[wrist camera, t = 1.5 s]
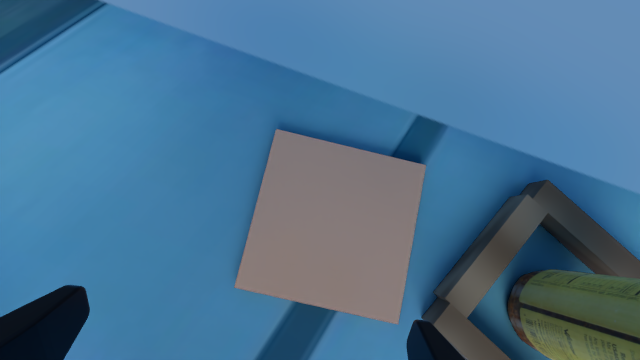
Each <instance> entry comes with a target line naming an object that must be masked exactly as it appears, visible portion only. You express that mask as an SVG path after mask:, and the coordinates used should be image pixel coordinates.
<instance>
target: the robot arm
mask: <svg viewBox="0 0 640 360" xmlns="http://www.w3.org/2000/svg"><path fill="white" fill-rule="evenodd" d="M89 311H90V308H89V303H88V298H87V294H86V290H85V288H84V287H82V286H75V285H66V286H63V287H61V288H59V289H57V290H55V291H53V292H51V293H49V294H47V295H45V296H43V297H41V298H38V299H36V300H34V301H32V302H30V303H28V304H26V305H24V306H22V307H20V308H18V309H16V310H14V311H12V312H10V313H8V314H6V315H4V316H2V317H0V360H64V358H65V356H66V354H67V353H68V351H69V349H70V348H71V346H72V344H73V342H74V341H75V339H76V337H77V335H78V334H79V332H80V330H81V329H82V327H83V325H84V323H85V322H86V320H87V318H88V316H89ZM407 354H408V360H465V358H464V357H463V356H462V355H461V354H460V353H459V352H458V351H457V350H456V349H455V348H454V347H453V346H452V344H451V343H450V342H449V341H448V340H447V339H446V338H445V337H444V336H443V335H442V334H441V333H440V332H439V331H438V329H437V328H436V327H435V326H434V325H433V324H432V323H431V322H429V321H426V320H415V321H414V322H413V324H412V327H411V330H410V333H409V336H408V339H407Z"/></svg>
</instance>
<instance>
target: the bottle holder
mask: <svg viewBox="0 0 640 360" xmlns="http://www.w3.org/2000/svg"><path fill="white" fill-rule="evenodd" d="M539 224H541V225H542V226H543V227H544V228H545V229H546V230H547V231H548V232H549V233H551V234H552V235H553V236H554V237H555V238H556V239H557V240H558V241H560V242H561V243H562V244H563V245H564V246H565V247H566V248H567V249H568V250H570V251H571V252H572V253H573V254H574V255H575V256H576V257H577V258H579V259H580V260H581V261H582V262H583V263H584V264H585V265H586V266H587V267H589V268H590V269H591V270H592V271H593V272H594V273H595V274H600V275H609V276H618V277H627V278H636V279H640V261H639V260H638V259H637V258H636V257H635V256H634V255H632V254H631V253H630V252H629V251H628V250H627V249H626V248H625V247H623V246H622V245H621V244H620V243H619V242H618V241H617V240H615V239H614V238H613V237H612V236H611V235H610V234H609V233H608V232H606V231H605V230H604V229H603V228H602V227H601V226H600V225H599V224H597V223H596V222H595V221H594V220H593V219H592V218H591V217H589V216H588V215H587V214H586V213H585V212H584V211H583V210H582V209H580V208H579V207H578V206H577V205H576V204H575V203H574V202H573V201H571V200H570V199H569V198H568V197H567V196H566V195H565V194H563V193H562V192H561V191H560V190H559V189H558V188H557V187H556V186H554V185H553V184H552V183H551V182H550V181H549V180H544V181H539V182H534V183H529V184H528V185H527V186H526V188H525V189H524V190H523V191H522V193H521V194H520V195H519V196H513V197H509V199H508V200H507V201H506V202H505V204H504V205H503V206H502V207H501V209H500V210H499V211H498V212H497V214H496V215H495V216H494V217H493V218H492V220H491V221H490V222H489V223H488V225H487V226H486V227H485V228H484V230H483V231H482V232H481V233H480V235H479V236H478V237H477V238H476V240H475V241H474V242H473V243H472V245H471V246H470V247H469V248H468V250H467V251H466V252H465V253H464V254H463V256H462V257H461V258H460V259H459V261H458V262H457V263H456V264H455V266H454V267H453V268H452V269H451V271H450V272H449V273H448V274H447V276H446V277H445V278H444V279H443V281H442V282H441V283H440V284H439V286H438V287H437V288H436V289H435V290H434V292H433V293H434V294H435V295H436V296H437V297H438V298H437V299H436V300H435V301H434V303H433V304H432V305H431V306H430V308H429V309H428V310H427V311H426V313H425V314H424V315H423V316H422V319H423V320H426V321H429V322H431V323H432V324H433V325H434V326H435V327H436V328H437V329H438V331H439V332H440V333H441V334H442V335H443V336H444V337H445V338H446V339H447V340H448V341H449V342H450V343H451V344H452V346H453V347H454V348H455V349H456V350H457V351H458V352H459V353H460V354H461V355H462V356H463V357H464V358H465V359H466V360H511V359H510V358H509V357H508V356H507V355H506V354H505V353H503V352H502V351H501V350H500V349H499V348H498V347H497V346H496V345H495V344H494V343H493V342H492V341H491V340H489V339H488V338H487V337H486V336H485V335H484V334H483V333H482V332H481V331H480V330H479V329H478V328H477V327H476V326H474V325H473V324H472V323H471V322H470V321H469V320H468V319H467V317H468V316H469V315H470V314H471V312H472V311H473V310H474V308H475V307H476V306H477V304H478V303H479V302H480V301H481V299H482V298H483V297H484V295H485V294H486V293H487V291H488V290H489V289H490V288H491V286H492V285H493V284H494V282H495V281H496V280H497V278H498V277H499V276H500V275H501V273H502V272H503V271H504V269H505V268H506V267H507V266H508V264H509V263H510V262H511V260H512V259H513V258H514V256H515V255H516V254H517V253H518V251H519V250H520V249H521V247H522V246H523V245H524V243H525V242H526V241H527V240H528V238H529V237H530V236H531V234H532V233H533V232H534V230H535V229H536V228H537V227H538V225H539Z"/></svg>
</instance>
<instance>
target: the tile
mask: <svg viewBox="0 0 640 360" xmlns="http://www.w3.org/2000/svg"><path fill="white" fill-rule="evenodd" d="M425 169H426V165H423V164H419V163H415V162H411V161H406V160H402V159H398V158H394V157H390V156H386V155H382V154H378V153H373V152H369V151H365V150H361V149H357V148H353V147H349V146H345V145H340V144H336V143H332V142H328V141H324V140H320V139H316V138H312V137H307V136H303V135H299V134H295V133H291V132H287V131H283V130H279V129H276V131H275V135H274V139H273V143H272V146H271V150H270V154H269V158H268V162H267V165H266V169H265V173H264V177H263V181H262V184H261V188H260V192H259V196H258V200H257V203H256V207H255V211H254V215H253V218H252V222H251V226H250V230H249V234H248V237H247V241H246V245H245V249H244V253H243V256H242V260H241V264H240V268H239V272H238V275H237V279H236V283H235V287H234V288H238V289H243V290H247V291H251V292H256V293H260V294H265V295H269V296H274V297H278V298H283V299H287V300H291V301H296V302H300V303H305V304H309V305H314V306H318V307H323V308H327V309H331V310H336V311H340V312H345V313H349V314H354V315H358V316H363V317H367V318H372V319H376V320H380V321H385V322H389V323H394V324H398V322H399V317H400V311H401V305H402V300H403V294H404V288H405V283H406V277H407V271H408V266H409V260H410V254H411V249H412V243H413V237H414V232H415V226H416V220H417V215H418V209H419V203H420V198H421V192H422V186H423V180H424V175H425Z"/></svg>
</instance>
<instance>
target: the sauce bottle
mask: <svg viewBox="0 0 640 360" xmlns="http://www.w3.org/2000/svg"><path fill="white" fill-rule="evenodd" d="M508 315H509V317H510V321H511V323H512V325H513V328H514V330H515V332H516V333H517V335H518V336H519V337H520V339H521V340H522V341H524V342H525V343H526V344H528V345H529V346H531V347H532V348H534V349H536V350H538V351H540V352H541V353H542V354H543V355H545V356H546V357H548V358H550V359H552V360H640V279H636V278H627V277H618V276H609V275H600V274H591V273H583V272H574V271H565V270H551V269H549V270H546V271H542V270H541V271H535V272H532V273H528V274H525V275H523V276H522V277H520V278H519V279H518V281H517V282H516V284H515V285H514V287H513V289H512V291H511V294H510V297H509V299H508Z"/></svg>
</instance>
